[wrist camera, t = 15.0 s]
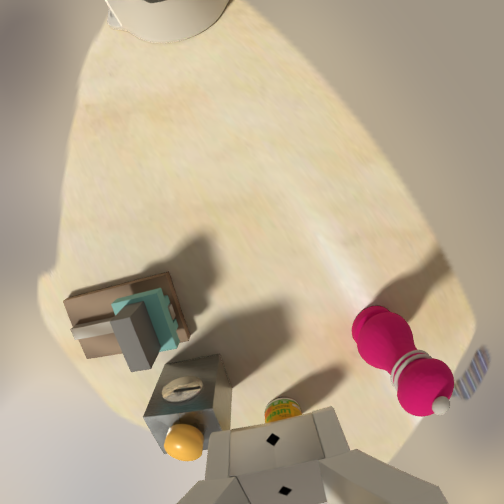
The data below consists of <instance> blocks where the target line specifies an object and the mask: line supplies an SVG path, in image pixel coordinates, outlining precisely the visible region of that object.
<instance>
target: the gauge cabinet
mask: <svg viewBox="0 0 504 504" xmlns="http://www.w3.org/2000/svg"><path fill="white" fill-rule="evenodd" d="M231 401H232V387H231V384H230V382H229V379H228V376H227V373H226V370H225V368H224V365H223V362H222V359H221V356H220V354H216V355H212V356H207V357H202V358H197V359H192V360H186V361H181V362H176V363H170V364H165V365H164V368H163V370H162V373H161V375H160V377H159V380H158V382H157V384H156V387H155V389H154V392H153V394H152V397H151V399H150V401H149V404H148V406H147V409H146V411H145V414H144V416H143V418H144V420H145V422H146V424H147V426H148V427H149V429H150V431H151V433H152V434H153V436H154V438H155V439H156V441H157V443H158V444H159V446H160V448H161V450H162V451H163V453H164V454H167V452H166V451H165V448H164V443H165V439H166V436H167V432H168V430H169V428H170V427H172V426H173V425H176V424H187V425H191V426H194V427H196V428H197V429H198V430H200V431H201V433H202V434H203V436H204V443H203V450H208V446H209V437H210V435H211V433H212V432H217V431H225V430H230V422H231Z"/></svg>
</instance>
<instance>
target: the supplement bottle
mask: <svg viewBox="0 0 504 504" xmlns="http://www.w3.org/2000/svg"><path fill="white" fill-rule="evenodd" d="M299 415H302V412H301V408H300V405H299V404H298V403H297V402H296V401H295V400H293V399H291V398H278V399H275V400H273V401H271V402H270V403H269V404H268V405H267V406H266V408H265V423H270V422H275V421H279V420H283V419H287V418H291V417H295V416H299Z"/></svg>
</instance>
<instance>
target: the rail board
mask: <svg viewBox="0 0 504 504" xmlns="http://www.w3.org/2000/svg"><path fill="white" fill-rule="evenodd" d="M158 288H161V289H162V292H163V295H164V296H165V295H168V297H169V300H170V304H169V305H168V309H169V312H170V315H171V318H172V320H174V319H176V321H177V323H178V328H177V330H176V332H177V335H178V337H179V340H180V342H185V341H189V338H190V333H189V331H188V328H187V325H186V322H185V319H184V316H183V313H182V310H181V308H180V305H179V302H178V299H177V296H176V293H175V289H174V286H173V283H172V280H171V277H170V274H169V272H165V273H161V274H157V275H154V276H150V277H146V278H142V279H138V280H134V281H130V282H127V283H123V284H119V285H115V286H111V287H107V288H104V289H100V290H96V291H92V292H88V293H84V294H80V295H77V296H73V297H69V298H67V299H65V300H64V301H63V303H64V305H65V308H66V311H67V313H68V316H69V318H70V321H71V323H72V326H73V328H71V329H70V330H71V332H72V334H73V337H74V339H75V340H79V342H80V344H81V347H82V349H83V351H84V353H85V356H86V358H87V359H90V358H96V357H103V356H109V355H115V354H121V353H122V350H121V348H120V346H119V343H118V341H117V339H116V336H115V334H114V331H113V329H112V326H111V324H110V321H111V320H112V319H113V318H114V317H115V313H114V311H113V308H112V305H111V304H112V303H113V302H114V301H115V300H116V299H117V298H122V297H126V296H130V295H134V294H138V293H142V292H146V291H150V290H154V289H158ZM180 342H179V343H180Z"/></svg>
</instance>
